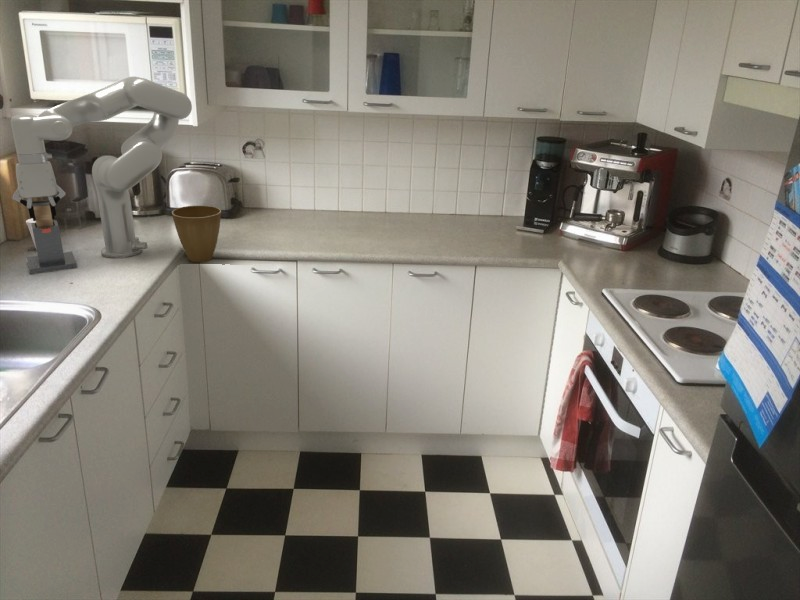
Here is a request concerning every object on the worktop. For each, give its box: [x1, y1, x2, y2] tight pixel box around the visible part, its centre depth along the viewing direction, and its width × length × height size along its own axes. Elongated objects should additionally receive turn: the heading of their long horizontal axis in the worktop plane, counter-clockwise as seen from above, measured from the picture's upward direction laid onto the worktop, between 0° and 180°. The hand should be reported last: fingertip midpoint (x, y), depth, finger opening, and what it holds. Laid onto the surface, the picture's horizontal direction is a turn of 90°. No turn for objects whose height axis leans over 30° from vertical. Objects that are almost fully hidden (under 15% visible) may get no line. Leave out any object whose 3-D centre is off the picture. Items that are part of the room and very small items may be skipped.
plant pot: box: [171, 205, 222, 263], centre depth 211 cm, size 15×15×16 cm
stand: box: [26, 219, 78, 275], centre depth 203 cm, size 13×13×13 cm
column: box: [32, 199, 54, 227], centre depth 201 cm, size 4×4×18 cm
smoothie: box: [25, 218, 36, 249], centre depth 217 cm, size 6×6×14 cm
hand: (43, 218), depth 200 cm, fingers closed on column, 4 cm apart
